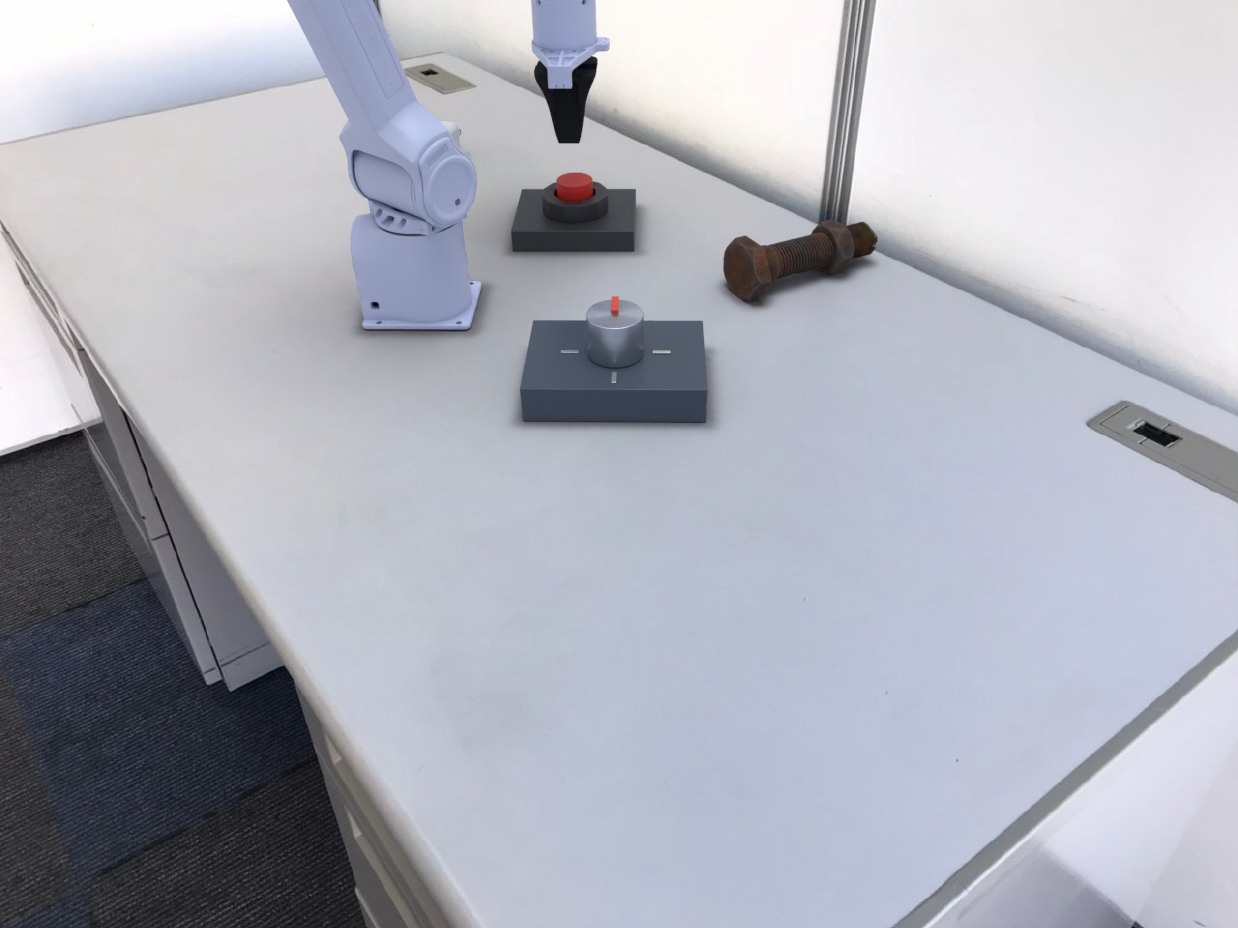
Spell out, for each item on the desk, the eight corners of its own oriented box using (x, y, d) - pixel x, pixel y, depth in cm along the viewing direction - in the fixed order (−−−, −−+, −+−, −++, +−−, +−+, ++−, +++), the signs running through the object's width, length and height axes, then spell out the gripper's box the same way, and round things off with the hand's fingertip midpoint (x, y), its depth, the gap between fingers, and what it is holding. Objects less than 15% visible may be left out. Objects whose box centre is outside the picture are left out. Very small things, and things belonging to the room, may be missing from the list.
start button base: (512, 252, 98) (509, 214, 96) (523, 208, 106) (520, 172, 103) (634, 252, 98) (634, 214, 95) (636, 208, 105) (635, 172, 103)
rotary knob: (643, 368, 76) (643, 325, 74) (586, 368, 76) (584, 325, 74) (643, 337, 80) (643, 295, 77) (588, 337, 80) (586, 296, 77)
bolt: (867, 276, 97) (739, 312, 91) (842, 235, 98) (715, 267, 92) (896, 240, 92) (763, 275, 86) (870, 197, 93) (737, 228, 87)
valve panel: (522, 421, 76) (519, 387, 74) (535, 350, 84) (532, 318, 82) (705, 422, 76) (707, 388, 74) (701, 351, 84) (702, 318, 82)
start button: (555, 204, 98) (554, 187, 97) (558, 188, 101) (557, 172, 100) (592, 204, 98) (591, 187, 97) (593, 188, 101) (593, 172, 100)
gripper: (605, 10, 81) (608, 170, 90) (611, -32, 92) (613, 114, 101) (519, 10, 81) (530, 170, 90) (535, -32, 93) (544, 114, 101)
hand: (569, 141), depth 95 cm, fingers closed
